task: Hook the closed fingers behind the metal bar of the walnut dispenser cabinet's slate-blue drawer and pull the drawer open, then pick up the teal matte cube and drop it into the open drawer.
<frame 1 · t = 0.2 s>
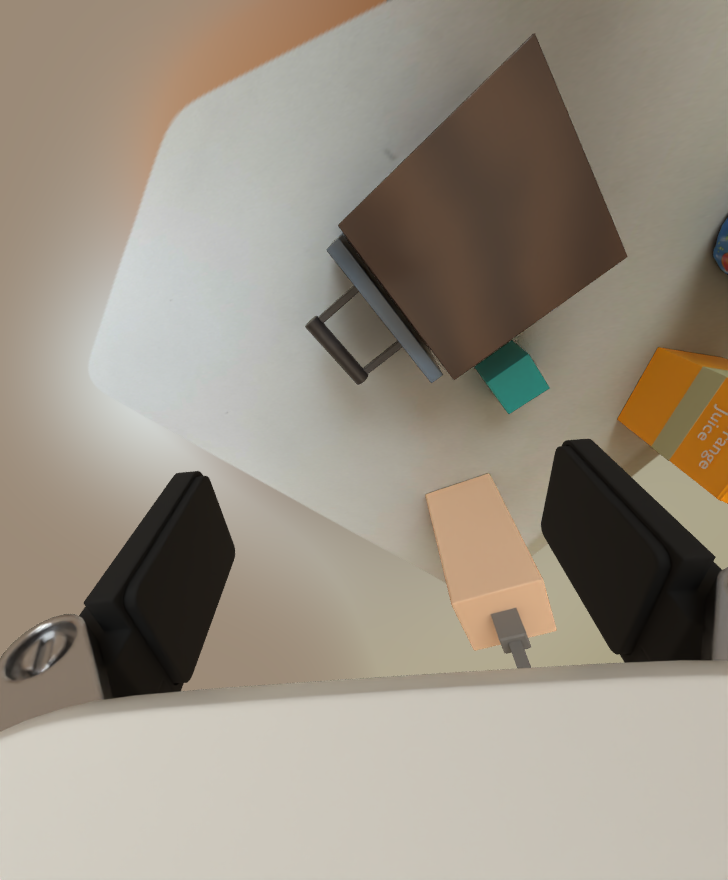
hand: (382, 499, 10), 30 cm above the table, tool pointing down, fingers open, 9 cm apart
cabinet: (456, 235, 34), on the table
orange juice: (666, 389, 42), on the table
soap dispenser: (468, 516, 52), on the table
drawer: (417, 281, 32), point 5 cm above the table, slide at 0.5 cm
teal matte cube: (503, 369, 41), on the table
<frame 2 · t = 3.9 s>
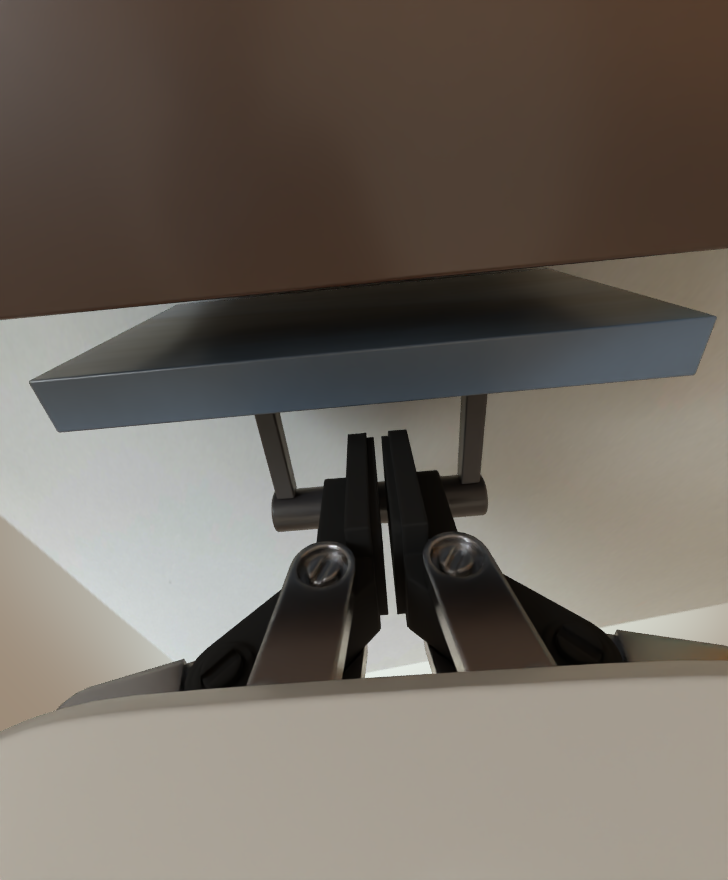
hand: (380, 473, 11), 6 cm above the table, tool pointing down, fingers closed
drawer: (351, 191, 9), point 5 cm above the table, slide at 1.3 cm, touching gripper
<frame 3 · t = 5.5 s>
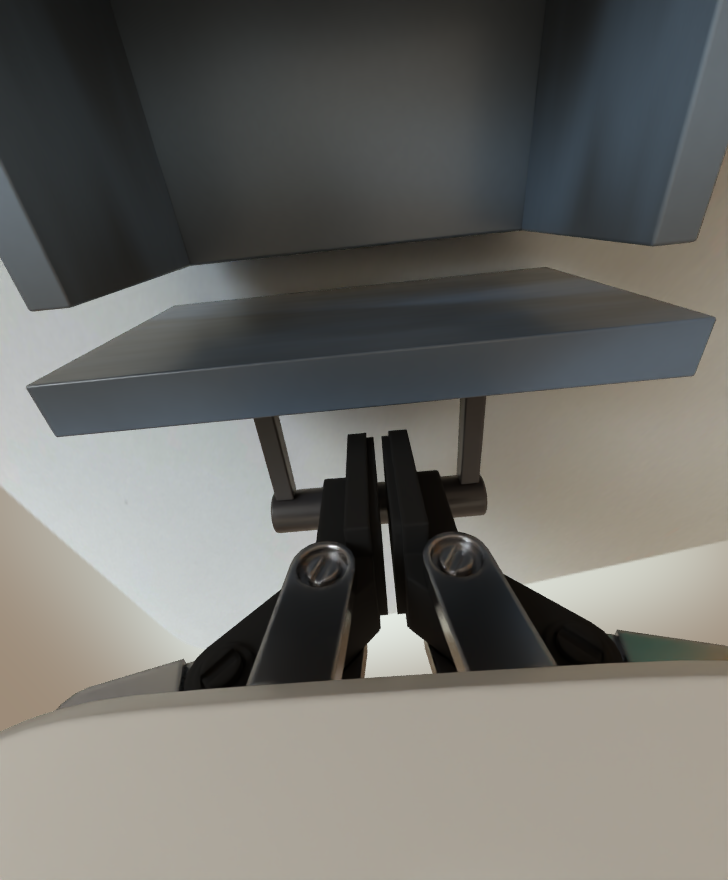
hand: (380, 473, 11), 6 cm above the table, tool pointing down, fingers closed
drawer: (348, 192, 9), point 5 cm above the table, slide at 7.7 cm, touching gripper
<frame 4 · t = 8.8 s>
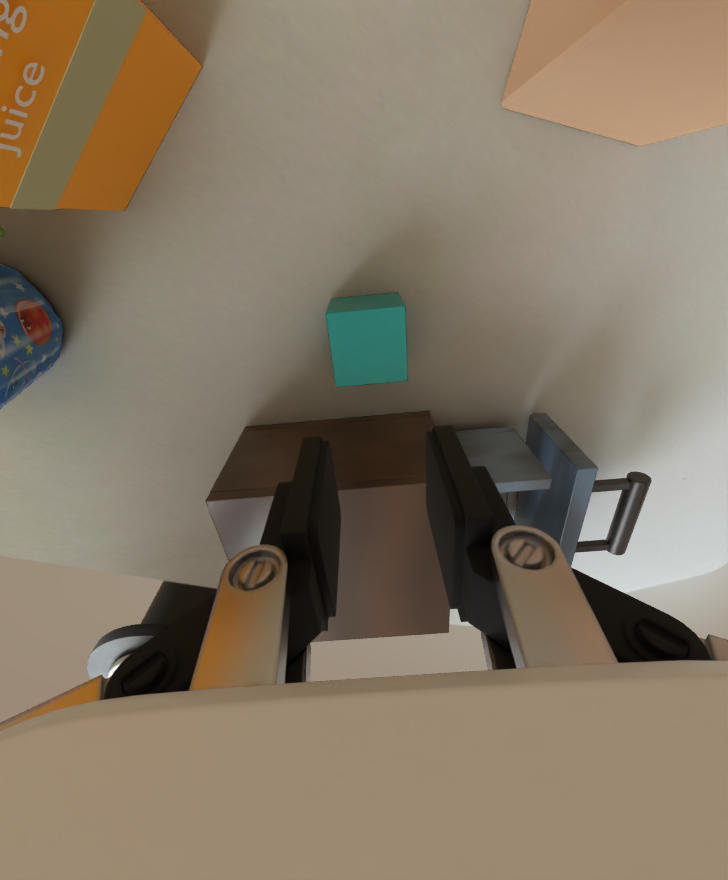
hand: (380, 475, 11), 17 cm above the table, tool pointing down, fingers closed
cabinet: (346, 491, 33), on the table
orange juice: (95, 81, 20), on the table
drawer: (501, 516, 29), point 5 cm above the table, slide at 7.5 cm
snack cup: (11, 317, 26), on the table
teal matte cube: (367, 329, 26), on the table
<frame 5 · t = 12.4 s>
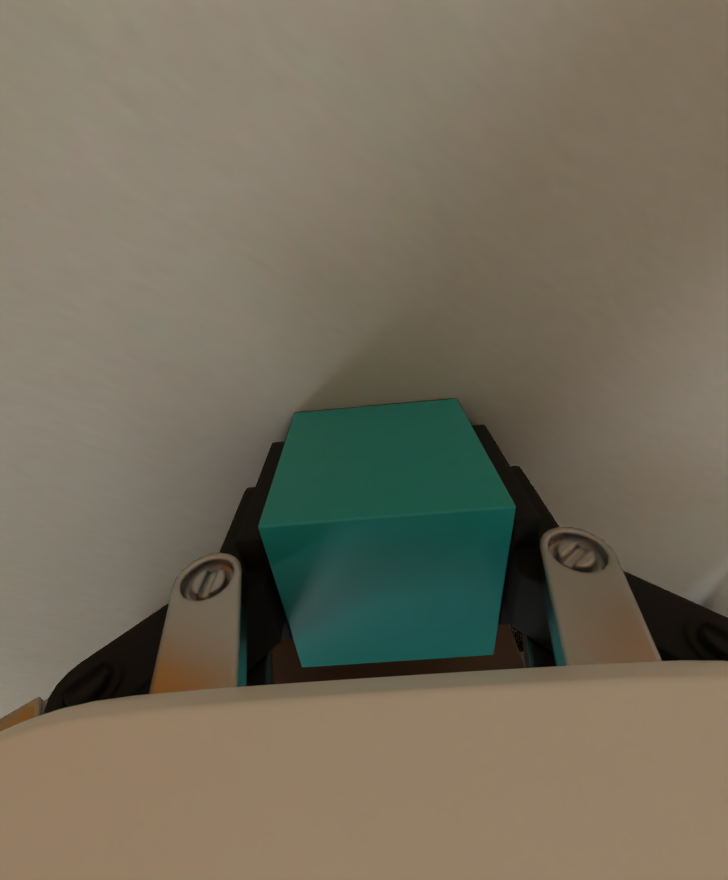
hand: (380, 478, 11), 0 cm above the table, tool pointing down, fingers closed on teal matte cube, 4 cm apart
cabinet: (338, 706, 19), on the table
drawer: (648, 819, 14), point 5 cm above the table, slide at 7.5 cm
teal matte cube: (380, 471, 12), on the table, touching gripper
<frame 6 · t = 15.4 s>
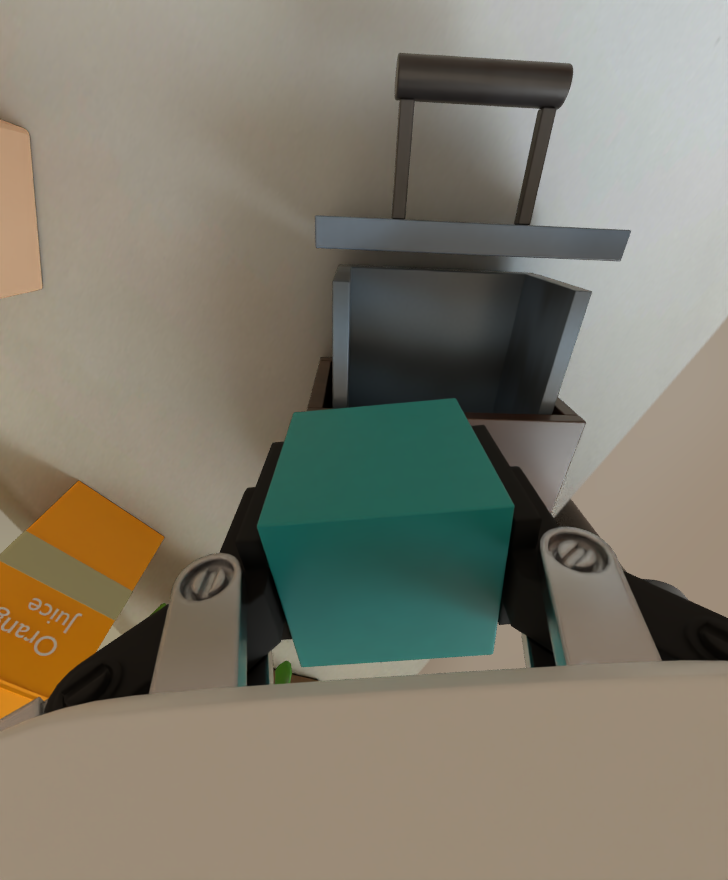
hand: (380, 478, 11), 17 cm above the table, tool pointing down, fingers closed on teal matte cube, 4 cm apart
cabinet: (411, 446, 31), on the table
orange juice: (101, 528, 35), on the table
drawer: (444, 303, 21), point 5 cm above the table, slide at 7.5 cm
snack cup: (236, 604, 41), on the table
teal matte cube: (379, 471, 11), point 17 cm above the table, touching gripper
when the fingers open (7 cm above the table, at t = 18.8 s): teal matte cube drops 5 cm, resting on drawer.
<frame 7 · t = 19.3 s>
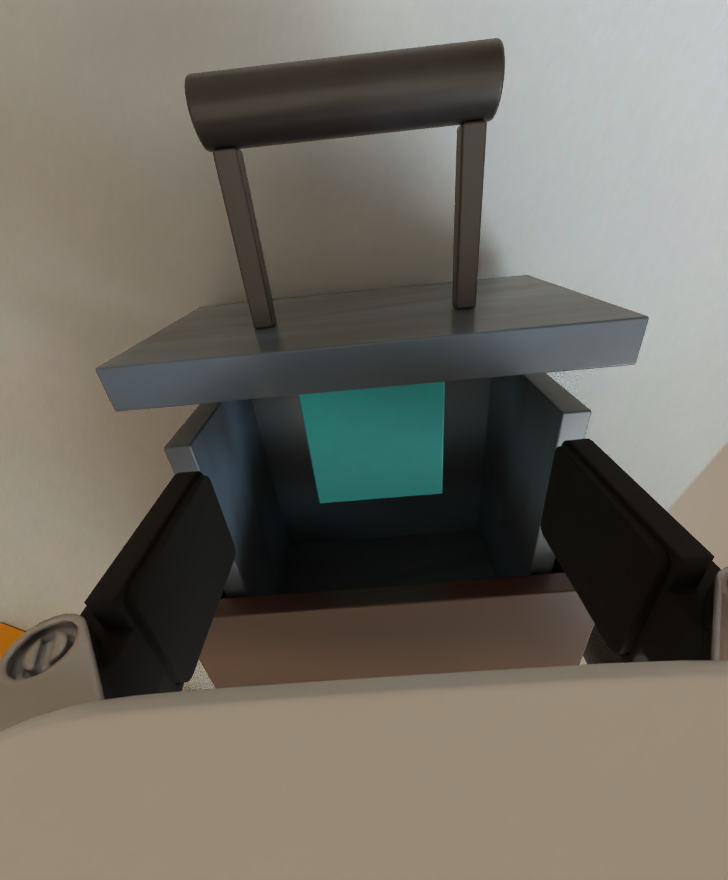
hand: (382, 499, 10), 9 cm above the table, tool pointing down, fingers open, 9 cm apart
cabinet: (384, 551, 24), on the table
orange juice: (45, 663, 30), on the table
drawer: (372, 417, 14), point 5 cm above the table, slide at 7.5 cm, touching teal matte cube
teal matte cube: (371, 392, 16), point 2 cm above the table, touching drawer
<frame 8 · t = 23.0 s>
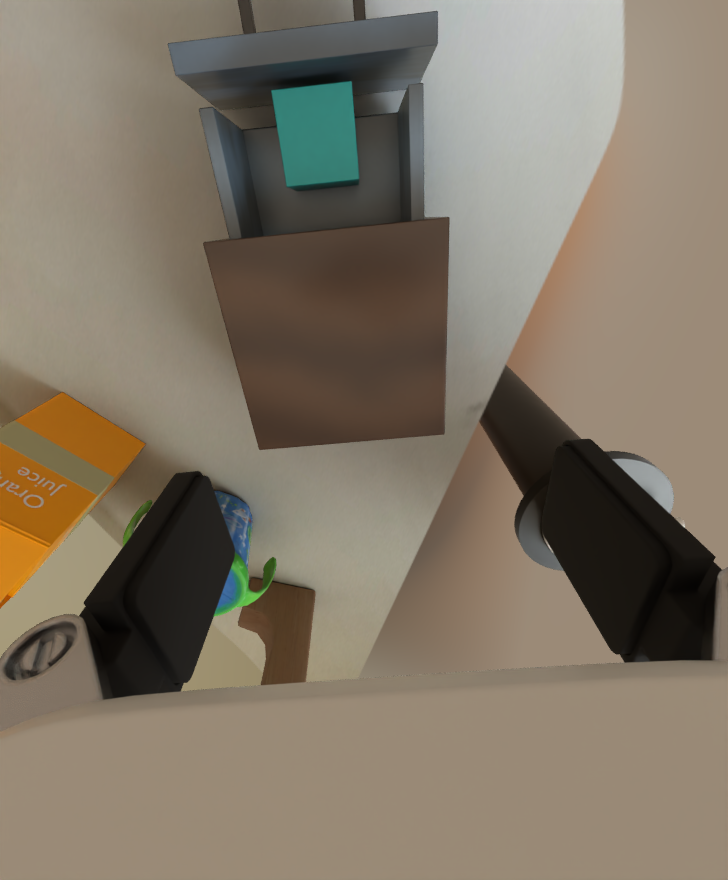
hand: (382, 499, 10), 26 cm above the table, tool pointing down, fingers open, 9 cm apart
cabinet: (343, 320, 34), on the table
orange juice: (91, 441, 40), on the table
drawer: (319, 140, 24), point 5 cm above the table, slide at 7.5 cm, touching teal matte cube
snack cup: (222, 512, 45), on the table
teal matte cube: (323, 149, 26), point 2 cm above the table, touching drawer
wooden block: (281, 592, 52), on the table
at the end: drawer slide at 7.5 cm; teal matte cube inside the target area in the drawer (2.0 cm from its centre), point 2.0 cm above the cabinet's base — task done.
